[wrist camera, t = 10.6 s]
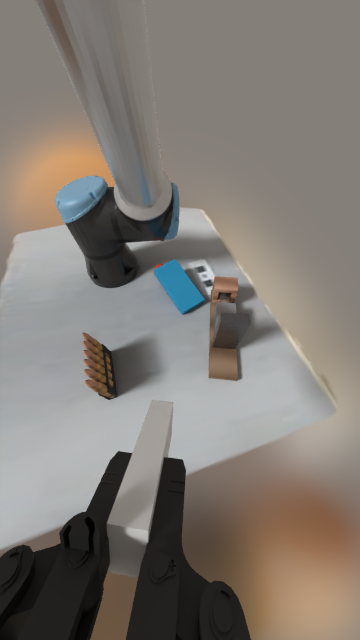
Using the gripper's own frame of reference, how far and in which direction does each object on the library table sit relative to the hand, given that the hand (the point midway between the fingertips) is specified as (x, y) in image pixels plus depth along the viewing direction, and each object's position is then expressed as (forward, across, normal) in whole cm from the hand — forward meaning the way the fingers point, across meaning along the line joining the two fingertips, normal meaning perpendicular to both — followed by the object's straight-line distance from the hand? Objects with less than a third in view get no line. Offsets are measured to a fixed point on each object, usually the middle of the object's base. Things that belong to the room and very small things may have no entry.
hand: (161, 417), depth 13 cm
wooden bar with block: (+34, +9, -3) cm, 35 cm away
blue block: (+43, -5, +6) cm, 44 cm away
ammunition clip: (+24, -16, -13) cm, 32 cm away
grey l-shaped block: (+34, +9, 0) cm, 35 cm away
